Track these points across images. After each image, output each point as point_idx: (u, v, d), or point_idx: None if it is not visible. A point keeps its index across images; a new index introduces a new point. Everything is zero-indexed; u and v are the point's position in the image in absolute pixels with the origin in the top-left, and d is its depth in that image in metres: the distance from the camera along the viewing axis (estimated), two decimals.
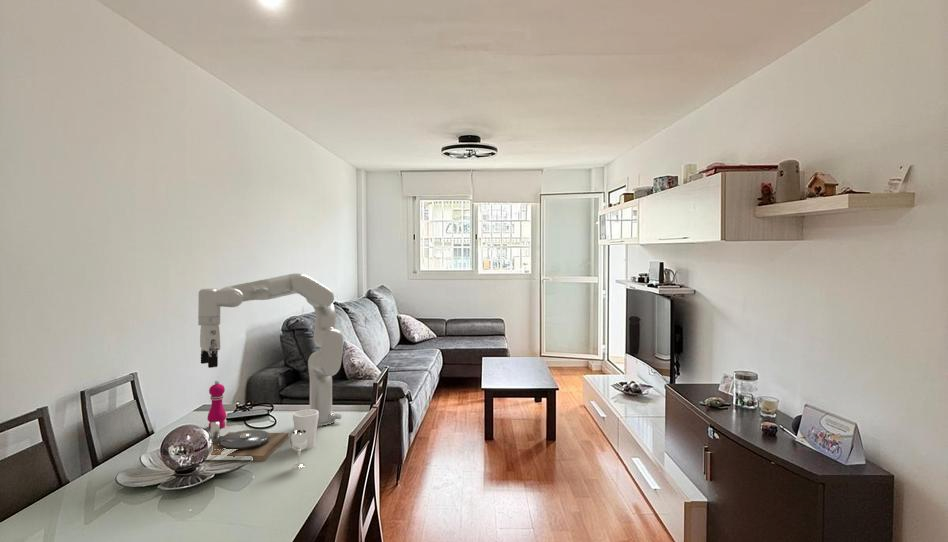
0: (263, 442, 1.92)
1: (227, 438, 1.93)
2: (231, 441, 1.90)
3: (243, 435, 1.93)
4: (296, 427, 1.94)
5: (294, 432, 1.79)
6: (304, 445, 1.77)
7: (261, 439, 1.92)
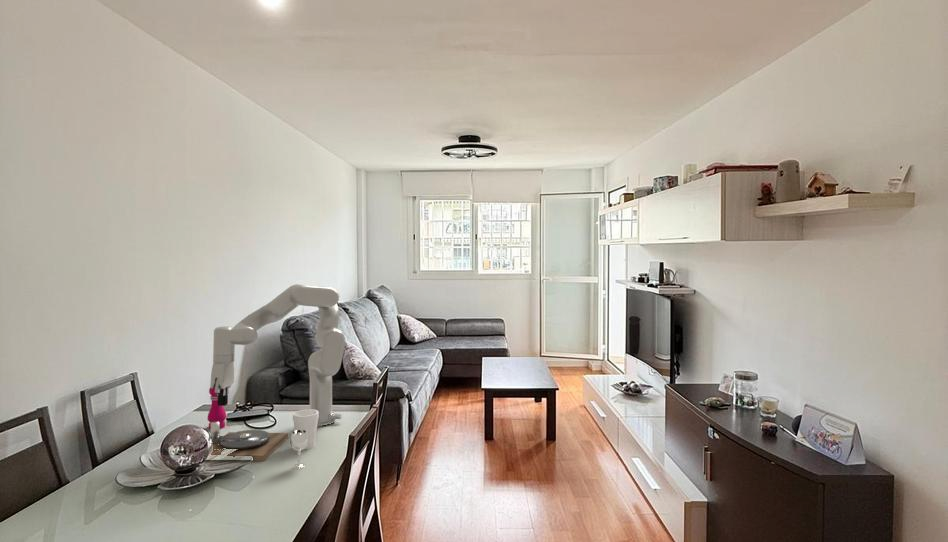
0: (263, 442, 1.92)
1: (227, 438, 1.93)
2: (231, 441, 1.90)
3: (243, 435, 1.93)
4: (296, 427, 1.94)
5: (294, 432, 1.79)
6: (304, 445, 1.77)
7: (261, 439, 1.92)
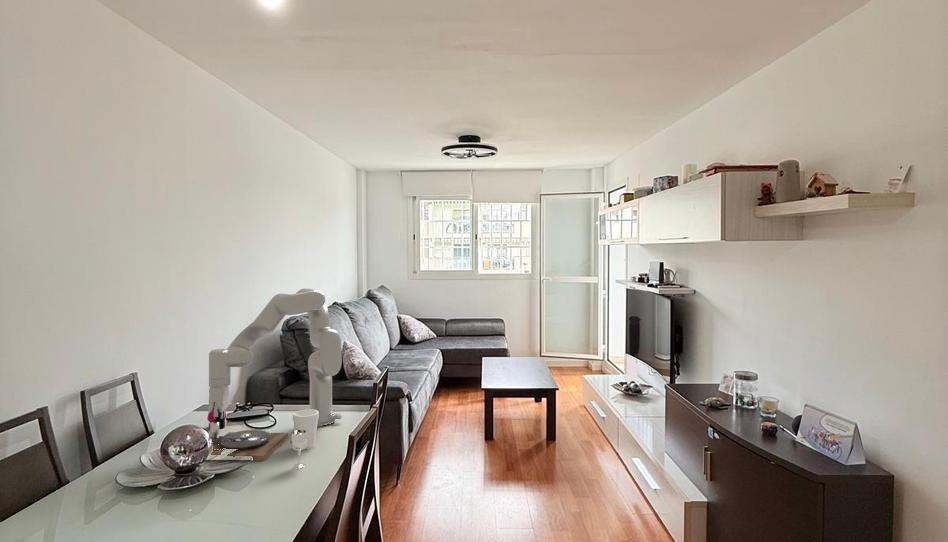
0: (263, 442, 1.92)
1: (227, 438, 1.93)
2: (231, 441, 1.90)
3: (243, 435, 1.93)
4: (296, 427, 1.94)
5: (294, 432, 1.79)
6: (304, 445, 1.77)
7: (261, 439, 1.92)
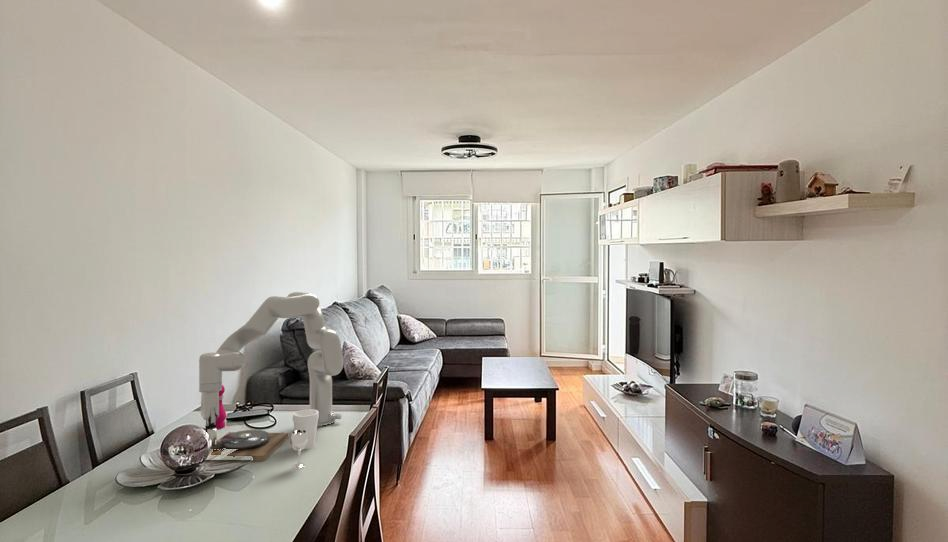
0: None
1: (228, 441, 1.89)
2: (239, 442, 1.89)
3: (245, 435, 1.93)
4: (296, 427, 1.94)
5: (294, 432, 1.79)
6: (304, 445, 1.77)
7: (266, 435, 1.97)
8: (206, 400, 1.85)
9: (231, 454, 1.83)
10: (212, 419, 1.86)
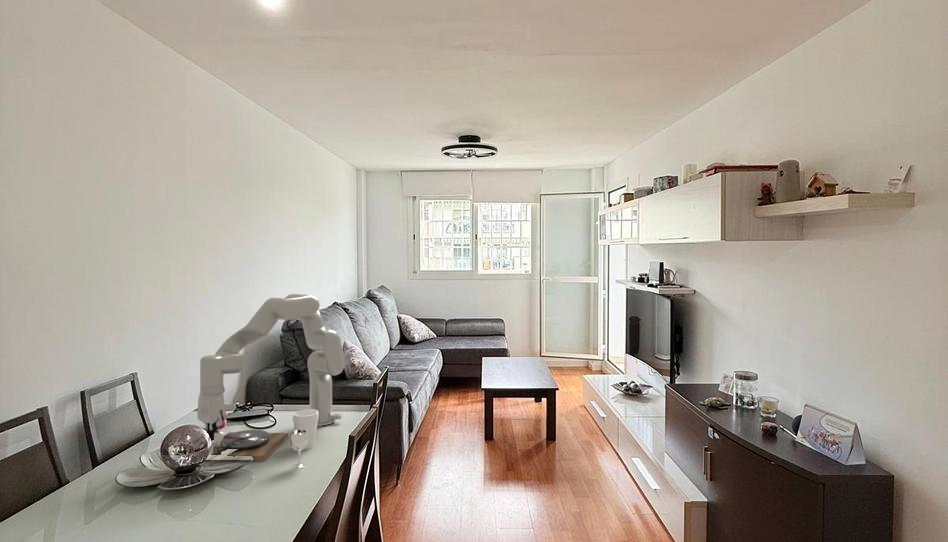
0: None
1: (234, 443, 1.88)
2: (246, 441, 1.90)
3: (246, 435, 1.94)
4: (296, 427, 1.94)
5: (294, 432, 1.79)
6: (304, 445, 1.77)
7: (264, 432, 2.00)
8: (214, 403, 1.82)
9: (231, 454, 1.83)
10: (220, 422, 1.83)
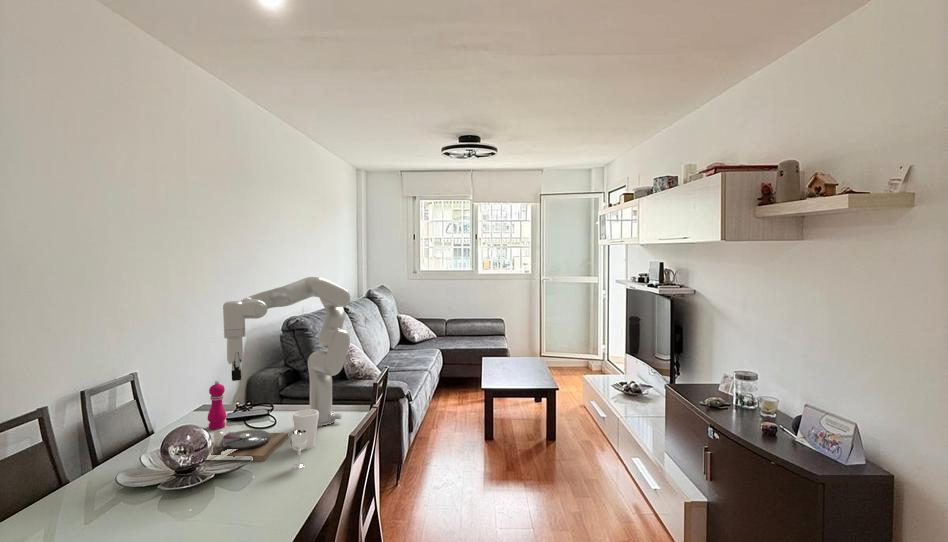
0: None
1: (234, 443, 1.88)
2: (246, 441, 1.90)
3: (246, 435, 1.94)
4: (296, 427, 1.94)
5: (294, 432, 1.79)
6: (304, 445, 1.77)
7: (264, 432, 2.00)
8: (230, 345, 1.93)
9: (231, 454, 1.83)
10: (236, 363, 1.94)
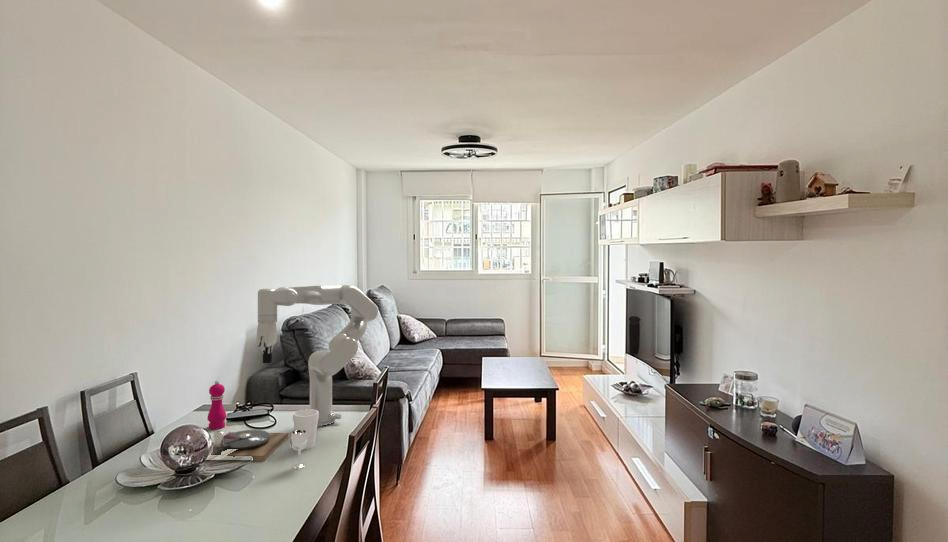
0: None
1: (234, 443, 1.88)
2: (246, 441, 1.90)
3: (246, 435, 1.94)
4: (296, 427, 1.94)
5: (294, 432, 1.79)
6: (304, 445, 1.77)
7: (264, 432, 2.00)
8: (257, 329, 2.07)
9: (231, 454, 1.83)
10: (261, 347, 2.07)
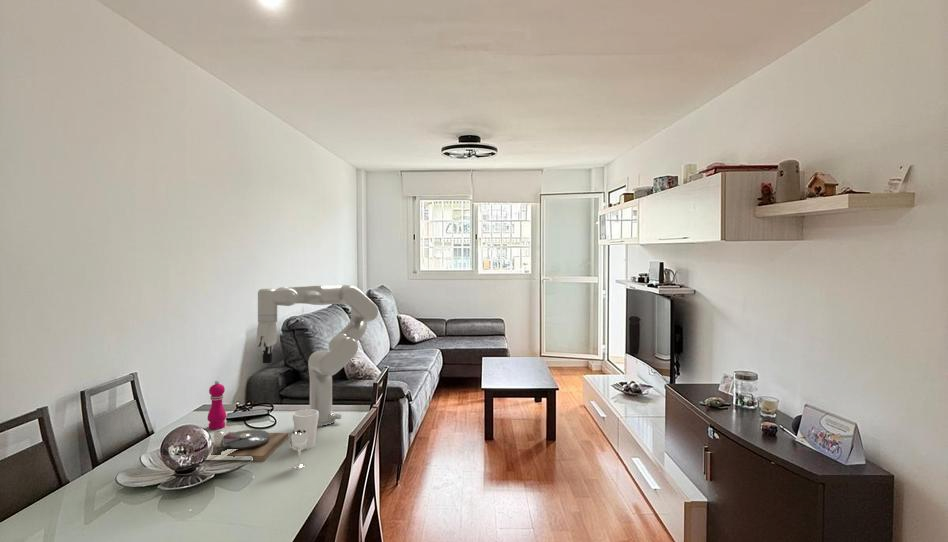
0: None
1: (234, 443, 1.88)
2: (246, 441, 1.90)
3: (246, 435, 1.94)
4: (296, 427, 1.94)
5: (294, 432, 1.79)
6: (304, 445, 1.77)
7: (264, 432, 2.00)
8: (257, 329, 2.07)
9: (231, 454, 1.83)
10: (261, 347, 2.07)
